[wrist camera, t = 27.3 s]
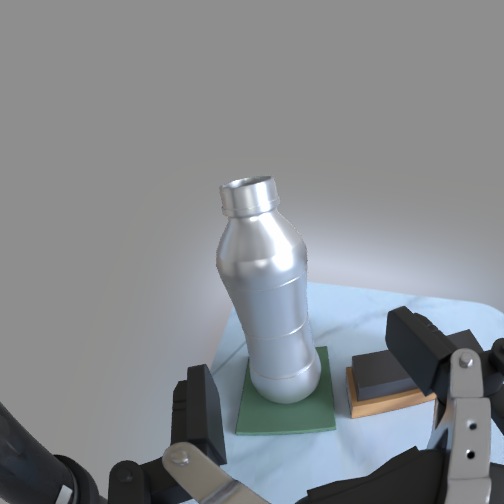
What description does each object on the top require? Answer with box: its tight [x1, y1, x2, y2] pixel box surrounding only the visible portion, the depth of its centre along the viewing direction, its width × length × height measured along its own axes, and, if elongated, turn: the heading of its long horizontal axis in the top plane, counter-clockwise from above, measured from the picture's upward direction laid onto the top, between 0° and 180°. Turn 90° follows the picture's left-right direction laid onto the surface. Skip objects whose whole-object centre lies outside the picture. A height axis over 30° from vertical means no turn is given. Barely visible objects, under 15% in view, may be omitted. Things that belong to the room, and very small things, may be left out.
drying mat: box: [236, 346, 336, 435], centre depth 26 cm, size 9×11×1 cm
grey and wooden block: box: [346, 329, 484, 418], centre depth 22 cm, size 14×5×4 cm, turn 84°
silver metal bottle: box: [216, 176, 321, 404], centre depth 22 cm, size 6×7×20 cm
